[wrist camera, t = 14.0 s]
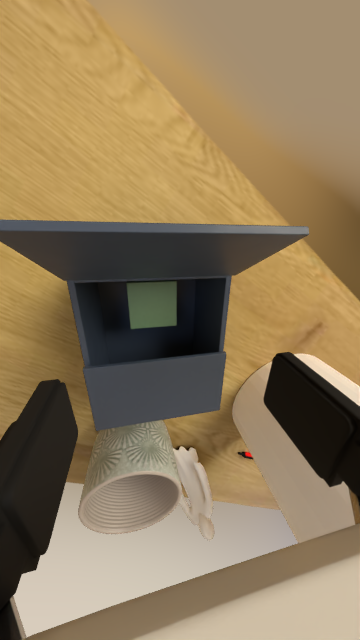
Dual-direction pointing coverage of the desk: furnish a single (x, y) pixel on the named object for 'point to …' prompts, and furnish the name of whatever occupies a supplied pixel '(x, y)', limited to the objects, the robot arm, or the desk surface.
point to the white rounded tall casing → (293, 458)
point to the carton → (151, 351)
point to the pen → (246, 455)
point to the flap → (144, 247)
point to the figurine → (195, 490)
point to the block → (152, 303)
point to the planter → (130, 479)
